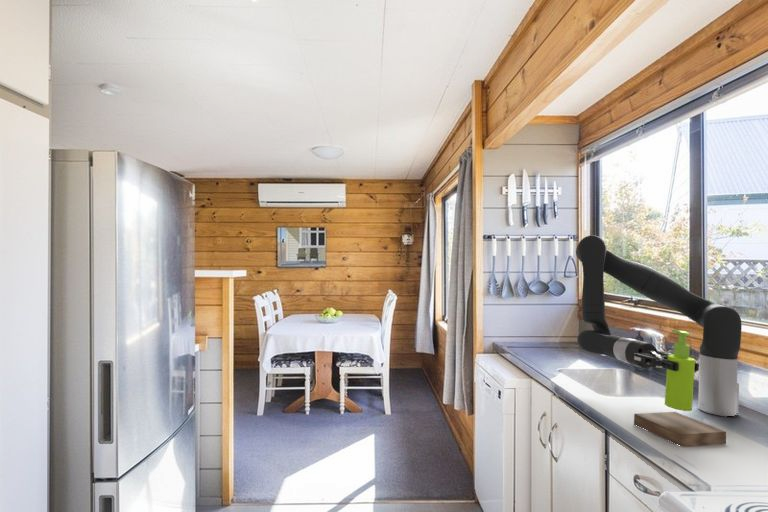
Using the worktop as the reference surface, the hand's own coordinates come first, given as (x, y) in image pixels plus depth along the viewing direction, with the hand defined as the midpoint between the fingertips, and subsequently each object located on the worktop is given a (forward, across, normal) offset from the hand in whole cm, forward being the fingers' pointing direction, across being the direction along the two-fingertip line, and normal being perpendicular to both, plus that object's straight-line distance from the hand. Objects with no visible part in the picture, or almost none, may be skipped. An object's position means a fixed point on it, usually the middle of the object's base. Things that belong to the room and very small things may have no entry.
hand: (687, 367), depth 107 cm
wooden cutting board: (-2, 0, +18) cm, 18 cm away
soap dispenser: (-2, 0, +11) cm, 11 cm away
